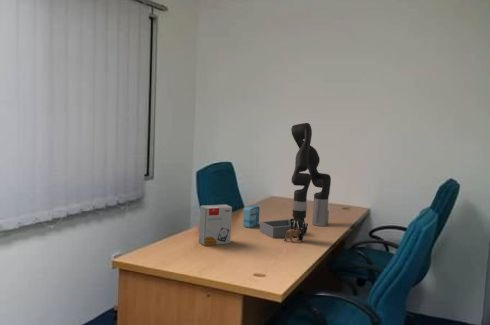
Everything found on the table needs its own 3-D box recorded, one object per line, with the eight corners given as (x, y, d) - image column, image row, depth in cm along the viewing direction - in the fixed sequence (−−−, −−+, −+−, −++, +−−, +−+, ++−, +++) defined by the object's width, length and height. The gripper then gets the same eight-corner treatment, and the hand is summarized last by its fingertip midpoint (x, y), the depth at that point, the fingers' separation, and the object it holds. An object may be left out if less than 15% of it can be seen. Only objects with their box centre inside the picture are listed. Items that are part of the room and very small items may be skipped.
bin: (288, 228, 284) (288, 219, 283) (302, 234, 271) (302, 224, 271) (259, 231, 274) (260, 221, 273) (272, 238, 261) (273, 227, 260)
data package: (249, 228, 280) (250, 209, 279) (242, 227, 283) (243, 208, 281) (258, 224, 291) (259, 206, 289) (252, 223, 293) (253, 205, 292)
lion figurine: (303, 238, 263) (304, 223, 262) (308, 241, 258) (309, 225, 257) (281, 241, 256) (282, 225, 255) (286, 243, 251) (287, 227, 250)
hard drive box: (203, 246, 240) (205, 208, 238) (198, 242, 247) (199, 205, 244) (230, 243, 247) (232, 206, 245) (224, 239, 254) (226, 203, 252)
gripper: (313, 211, 251) (311, 241, 253) (297, 205, 264) (295, 235, 265) (301, 211, 248) (299, 243, 249) (286, 206, 260) (285, 236, 262)
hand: (297, 238), depth 257 cm, fingers closed on lion figurine, 4 cm apart
